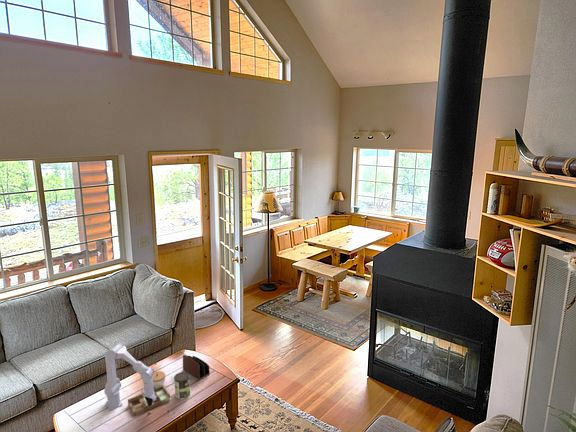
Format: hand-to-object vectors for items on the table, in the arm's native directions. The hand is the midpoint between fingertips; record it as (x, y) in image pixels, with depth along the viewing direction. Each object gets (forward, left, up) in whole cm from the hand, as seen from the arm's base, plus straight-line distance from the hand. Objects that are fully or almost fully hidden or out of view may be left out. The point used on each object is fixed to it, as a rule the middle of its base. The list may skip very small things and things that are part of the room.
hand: (150, 405), depth 251 cm
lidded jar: (-23, +13, -5) cm, 27 cm away
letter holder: (-20, +42, -5) cm, 46 cm away
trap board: (-8, +2, -4) cm, 9 cm away
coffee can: (-3, +23, -5) cm, 24 cm away
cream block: (-5, 0, -2) cm, 5 cm away
